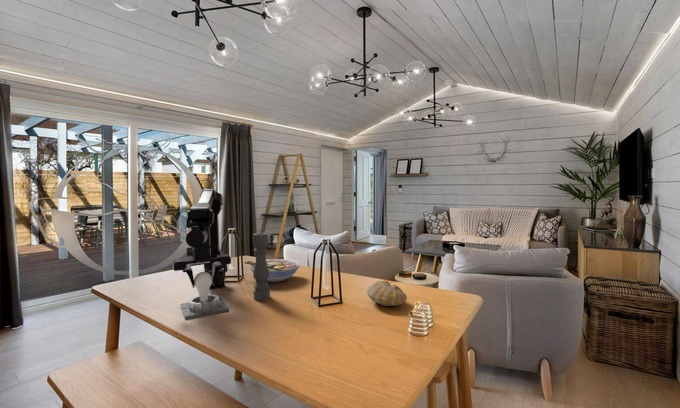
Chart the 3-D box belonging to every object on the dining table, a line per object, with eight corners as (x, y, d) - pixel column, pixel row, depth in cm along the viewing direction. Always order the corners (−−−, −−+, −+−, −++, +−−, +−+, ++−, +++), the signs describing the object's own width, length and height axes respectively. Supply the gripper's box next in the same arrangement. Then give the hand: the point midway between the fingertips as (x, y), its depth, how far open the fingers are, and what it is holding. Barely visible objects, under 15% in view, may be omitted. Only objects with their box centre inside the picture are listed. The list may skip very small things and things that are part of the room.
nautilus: (376, 292, 140) (413, 298, 134) (359, 306, 120) (401, 314, 114) (377, 273, 139) (415, 278, 134) (360, 284, 120) (403, 291, 114)
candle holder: (250, 299, 131) (248, 234, 130) (259, 294, 137) (258, 232, 135) (264, 301, 129) (262, 235, 127) (273, 296, 135) (271, 233, 133)
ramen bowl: (312, 279, 158) (312, 261, 157) (272, 291, 141) (271, 272, 140) (278, 270, 174) (277, 255, 174) (238, 281, 157) (237, 263, 157)
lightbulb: (195, 306, 118) (194, 275, 118) (193, 301, 124) (192, 271, 123) (214, 303, 121) (213, 272, 120) (211, 298, 126) (210, 269, 126)
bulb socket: (220, 299, 132) (220, 290, 132) (228, 310, 120) (228, 301, 120) (180, 306, 125) (180, 297, 125) (185, 319, 113) (184, 309, 113)
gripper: (224, 236, 133) (225, 276, 134) (170, 241, 123) (172, 284, 124) (230, 240, 123) (232, 283, 124) (173, 246, 114) (175, 292, 115)
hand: (203, 285), depth 122 cm, fingers closed on lightbulb, 6 cm apart
